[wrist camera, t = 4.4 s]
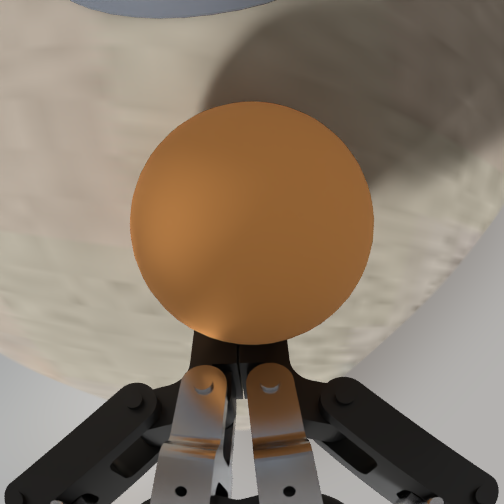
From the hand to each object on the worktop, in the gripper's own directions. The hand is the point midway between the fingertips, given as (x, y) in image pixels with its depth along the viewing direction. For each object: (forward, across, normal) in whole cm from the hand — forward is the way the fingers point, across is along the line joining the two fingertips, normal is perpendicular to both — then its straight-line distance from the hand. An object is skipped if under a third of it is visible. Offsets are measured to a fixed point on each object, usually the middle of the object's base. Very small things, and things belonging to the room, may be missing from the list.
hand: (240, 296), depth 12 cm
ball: (-2, -1, -4) cm, 4 cm away
